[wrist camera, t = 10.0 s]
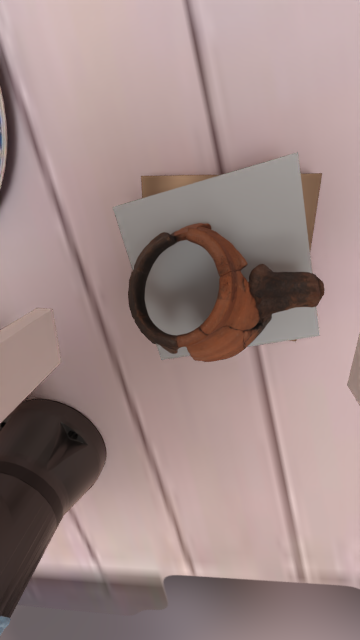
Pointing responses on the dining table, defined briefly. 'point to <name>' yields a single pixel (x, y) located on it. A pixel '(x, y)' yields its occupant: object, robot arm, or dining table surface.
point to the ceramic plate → (2, 138)
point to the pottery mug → (222, 297)
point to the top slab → (234, 225)
